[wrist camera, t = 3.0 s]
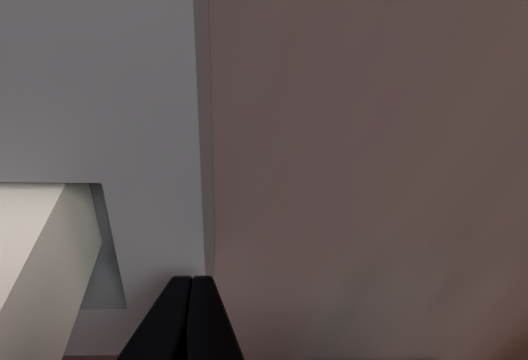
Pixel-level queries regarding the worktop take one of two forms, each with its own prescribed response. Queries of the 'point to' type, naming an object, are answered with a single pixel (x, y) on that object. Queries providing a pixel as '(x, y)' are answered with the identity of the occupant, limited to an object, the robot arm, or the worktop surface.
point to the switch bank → (116, 141)
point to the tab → (43, 265)
